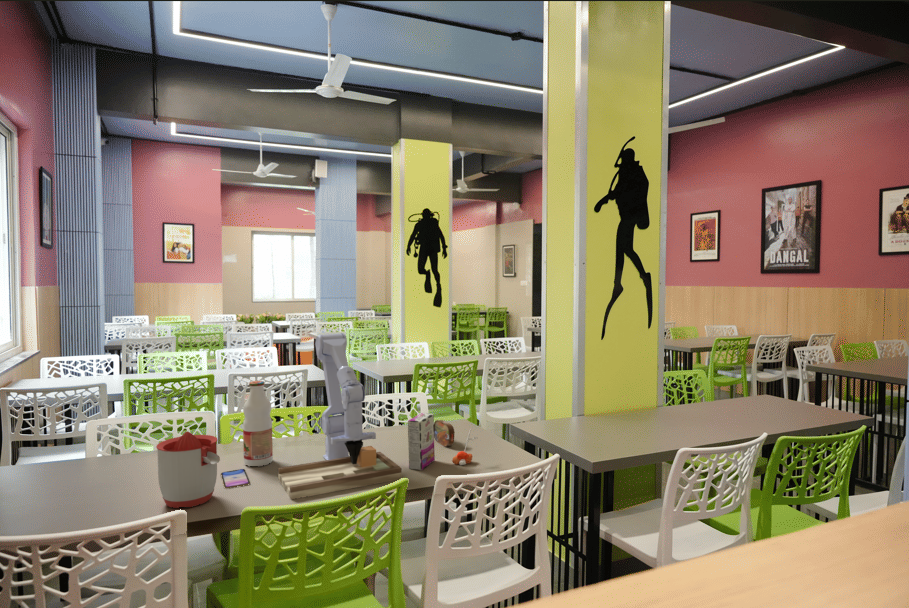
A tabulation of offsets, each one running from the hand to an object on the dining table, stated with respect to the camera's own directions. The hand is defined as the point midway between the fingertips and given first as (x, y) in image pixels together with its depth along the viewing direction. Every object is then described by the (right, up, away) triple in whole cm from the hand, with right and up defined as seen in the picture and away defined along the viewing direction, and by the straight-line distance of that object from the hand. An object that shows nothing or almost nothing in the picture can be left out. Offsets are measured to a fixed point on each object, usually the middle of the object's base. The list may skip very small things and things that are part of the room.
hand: (354, 463), depth 180 cm
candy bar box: (+22, -3, +7) cm, 23 cm away
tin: (+29, -2, +31) cm, 43 cm away
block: (+4, -1, +2) cm, 4 cm away
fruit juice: (-35, -3, +10) cm, 36 cm away
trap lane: (-3, -3, -6) cm, 8 cm away
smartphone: (-37, -4, -6) cm, 37 cm away
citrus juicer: (-42, -4, -23) cm, 48 cm away
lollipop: (+36, -3, +8) cm, 38 cm away
